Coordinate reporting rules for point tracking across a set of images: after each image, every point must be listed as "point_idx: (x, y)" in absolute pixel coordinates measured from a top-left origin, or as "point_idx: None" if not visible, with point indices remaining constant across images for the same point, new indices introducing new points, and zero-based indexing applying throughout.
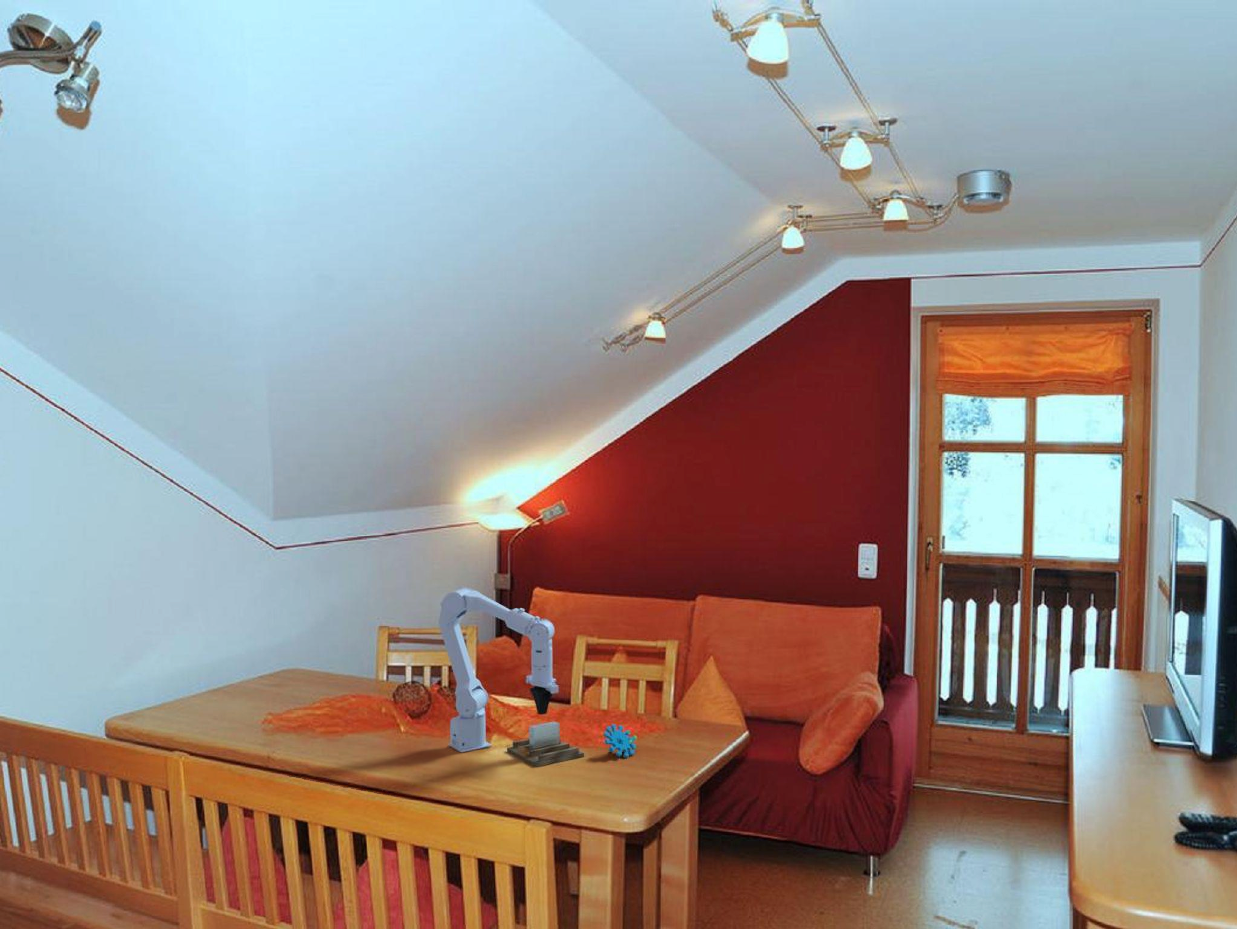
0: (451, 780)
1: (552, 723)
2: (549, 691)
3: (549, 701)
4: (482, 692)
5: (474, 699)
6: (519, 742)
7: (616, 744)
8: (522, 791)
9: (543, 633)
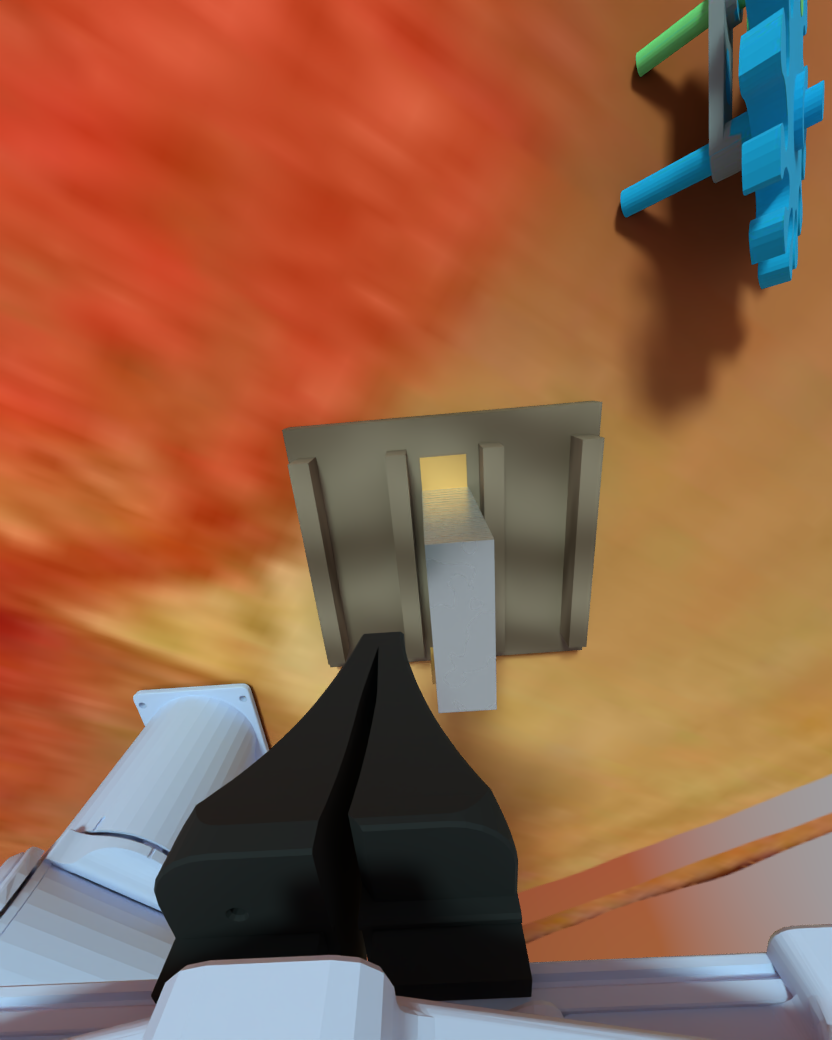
0: (517, 856)
1: (467, 579)
2: (511, 884)
3: (424, 700)
4: None
5: None
6: (341, 638)
7: (797, 196)
8: (750, 753)
9: None
